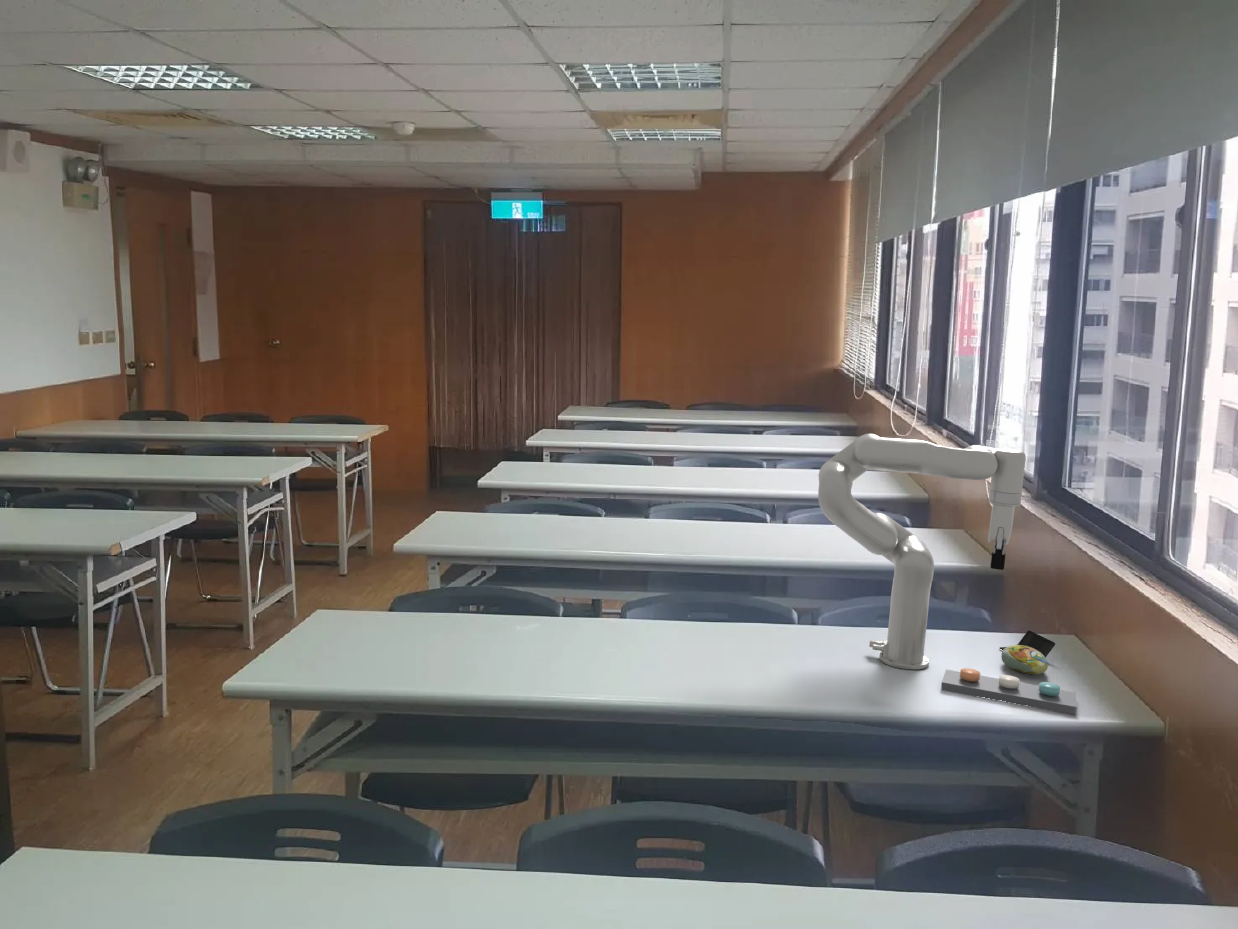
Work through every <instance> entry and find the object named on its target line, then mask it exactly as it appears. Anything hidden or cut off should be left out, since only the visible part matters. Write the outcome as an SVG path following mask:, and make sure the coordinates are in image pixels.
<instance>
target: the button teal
mask: <svg viewBox="0 0 1238 929" xmlns="http://www.w3.org/2000/svg"><path fill="white" fill-rule="evenodd" d="M1038 686H1039V692H1041V693H1042V694H1045V695H1050V696H1057V695H1059V693H1060V690H1061V686H1060V685H1058V684H1056V683H1053V682H1048V681H1042V682H1039V684H1038Z"/></svg>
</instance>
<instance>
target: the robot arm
mask: <svg viewBox="0 0 1238 929" xmlns="http://www.w3.org/2000/svg"><path fill="white" fill-rule="evenodd" d="M1026 458H1027V455H1026V453H1025V452H1024V451H1022V450H1020V449H1015V448H993V447H989V446H983V445H979V444H973V445H969V446H967V447H965V448H956V447H955V448H954V447H947V446H943V445H938V444H935V443H932V442H929V441H925V440H921V439H910V438H909V439H906V438H892V437H882V436H881V437H880V436H879V435H877V434H875V433H865V434H862V435H860V436H859V437H857V438H856V439H854V440H853V441H851V443H850V444H848V445H847V446H845V447H844V448H843V449H842V450H840V451H839V452H837V453H836V454H835V455H833V456H832V457H831V458H829V459H828V460H827V461H825V462H824V463H823V465H822V466H821V467H820V469H819V471H818V472H819V473H818V492H817V493H818V496H817V497H818V504H819V508H820V510H821V511H822V513H823V515H824V517H826V518H827V519H828V521H829V522H831V523H832V524H833V525H835V526H836V527H837V528H839V529H840V530H841V531H842V532H844V533H845V534H846V535H848V537H850V538H851V539H853V540H854V541H855V542H857V544H859V545H861V546H862V547H863V548H864V549H866V550H867V551H868V552H870V553H871V554H872V555H873V554H874V555H877V556H881V557H883V558H885V559H886V560H888V561H889V562H890V563H891V564H893V565H894V571H893V573H894V574H893V580H892V586H891V596H890V606H889V616H888V617H889V618H888V627H887V628H888V629H887V638H886V639H885V640H882V641H878V640H873V639H870V640H869V646H868V647H869V648H872V650H873V651H881V652H880V653H879V657H878V658H879V660H880V661H881V662H882V663H884V664H885V665H888V666H891V667H893V668H897V669H903V670H922V669H926V668H927V667H929V665H930V659H929V657H927V656H926V655H925V645H926V637H927V636H926V635H927V625H928V614H929V604H930V596H931V587H932V583H933V580H934V579H933V578H934V572H935V563H934V557H933V556H932V553H931V551H930V549H929V548H928V546H927V545H926V544H925V543H924V541H923V540H921V538H919V537H918V536H916V535H915V534H914V533H912V532H911V531H909V530H908V529H906V528H905V527H904V526H902V525H901V524H900V523H898V522H897V521H896V520H894V519H892V517H890V516H889V515H887V514H884V513H882V512H873V511H872V510H870V509H869V508H868V507H866V506H865V505H864V504H863V503H861V502H859V501H858V500H857V499H855V498H854V496H853V495H852V487H853V482H854V481H855V480H856V479H858V478H859V477H861V476H862V475H863V474H865V473H866V472H867V471H868V470H870V471H878V472H879V471H880V472H890V473H891V472H894V473H905V474H906V473H909V474H917V475H919V474H920V475H923V476H930V477H940V478H948V479H955V480H956V479H957V480H967V481H968V480H970V481H985V480H988V479H990V478H991V479H990V486H989V497H988V503H990V504H992V506H991V507H992V508H991V511H990V512H991V513H990V518H989V519H990V520H989V521H990V522H989V528H988V540H987V542H988V543H991V542H992V543H993V549H992V553H991V559H990V569H991V570H998V571H999V570H1000V571H1003V570H1005V564H1006V563H1005V562H1006V546H1007V545H1008V544H1009V542H1010V539H1011V535H1012V530H1013V526H1014V525H1013V524H1014V519H1015V518H1014V517H1015V509H1016V507H1020V506H1021V502H1022V495H1023V494H1022V493H1023V487H1024V486H1023V485H1024V477H1025V476H1024V475H1025V468H1026V460H1027V459H1026Z"/></svg>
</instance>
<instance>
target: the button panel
mask: <svg viewBox="0 0 1238 929" xmlns="http://www.w3.org/2000/svg"><path fill="white" fill-rule="evenodd" d="M940 689H941V690H940V691H944V692H950V693H955V694H961V695H966V696H970V695H971V697H976V696H979V697H978V698H981V697H985V698H984V699H986V698H990V699H989V700H992V699H995V700H994V701H997V700H1002V701H1006V702H1005V703H1008V702H1010V703H1009V704H1013V703H1016V704H1015V705H1018V704H1020V705H1021V706H1024V705H1028V706H1027V707H1029V706H1031V707H1030V708H1035V707H1036V709H1041V710H1045V709H1046V711H1051V710H1052V711H1051V712H1058V713H1062V714H1066V715H1073V716H1076V715H1077V714H1076V712H1077V694H1076V691H1068V690H1063V689H1060V693H1059V695H1057V696H1050V695H1045V694H1042V693H1041V692H1039V685H1036V684H1030V683H1024V682H1019V687H1018V688H1015V689H1012V688H1006V687H1003V686H1001V685H999V678H996V677H990V676H984V675H980V680H979V681H967V680H964V679H962V678H960V671H957V670H951V669H947V668H946V669H945V672H944V675H943V677H942V681H941V688H940ZM1002 701H1001V702H1002Z"/></svg>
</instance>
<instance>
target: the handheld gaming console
mask: <svg viewBox="0 0 1238 929" xmlns="http://www.w3.org/2000/svg"><path fill="white" fill-rule="evenodd" d="M1016 645H1023V646H1028V647H1031V648H1033V649H1035V650H1037V651H1039V652H1040V653H1041V654H1043V655H1044V657H1045V658H1046V659H1047V656H1048V654H1050V652H1051V651H1052V650H1053V649H1054V647H1055V646H1056V643H1055V642H1054V641H1053V640H1050V639H1048V638H1046V637H1044V636H1042V635H1040V634H1038V633H1036V632H1034V631H1031V630H1027V631H1026V633H1025V634H1024V635H1023V637H1022V638H1021V639H1020V640H1019V641H1018V643H1017V644H1016ZM1006 647H1007V646H1000V647H999V650H1000V649H1002V650H1004V649H1005V648H1006Z"/></svg>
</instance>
